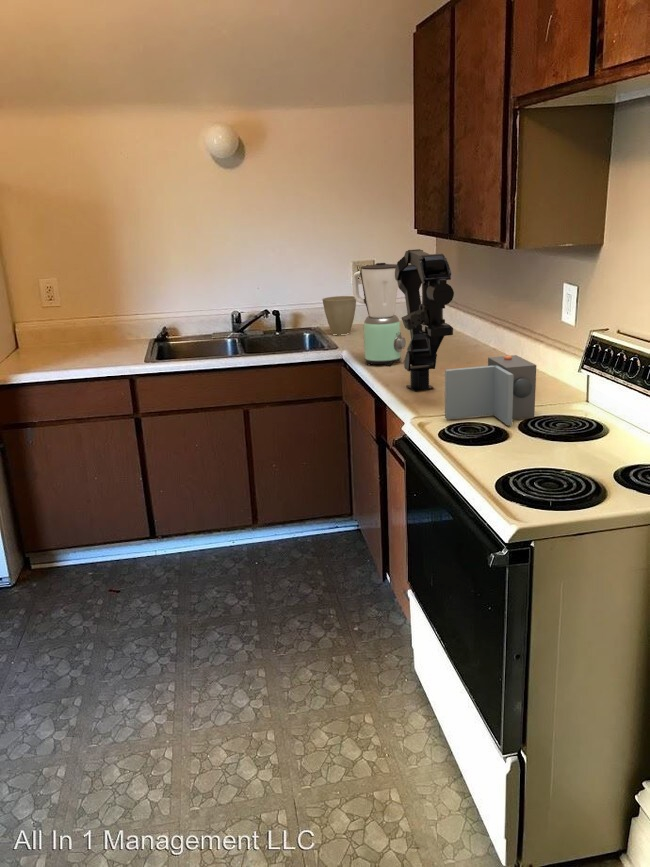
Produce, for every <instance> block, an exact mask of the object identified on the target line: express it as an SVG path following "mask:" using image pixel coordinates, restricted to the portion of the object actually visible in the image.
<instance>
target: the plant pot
mask: <svg viewBox="0 0 650 867" xmlns="http://www.w3.org/2000/svg"><path fill="white" fill-rule="evenodd" d="M321 300H322V303H323V309H324V314H325V318H326V320H327V324H328V326H329V329H330V331H331V334H332V335H333V334H337V335H341V334H347V333H350V334H351V330H352V327H353V323H354V319H355V315H356V313H355V312H356V308H357V301H356V299H355V298H354V295H338V296H337V295H336V296H330V297H329V296H328V297H323V298H321Z"/></svg>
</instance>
